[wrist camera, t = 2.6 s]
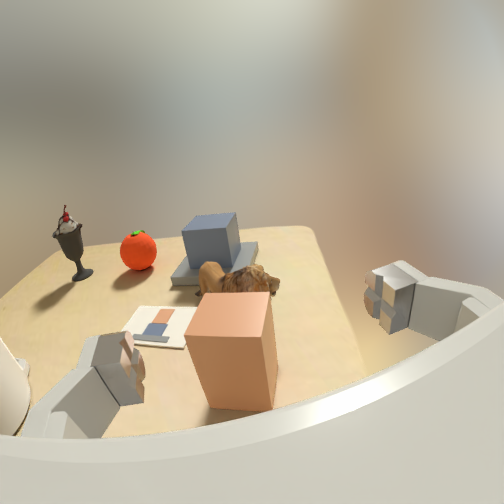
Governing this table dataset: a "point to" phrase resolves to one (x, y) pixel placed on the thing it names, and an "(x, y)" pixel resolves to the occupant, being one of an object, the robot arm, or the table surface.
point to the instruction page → (160, 325)
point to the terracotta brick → (235, 350)
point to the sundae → (72, 244)
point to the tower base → (213, 247)
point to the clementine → (138, 250)
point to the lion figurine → (235, 280)
